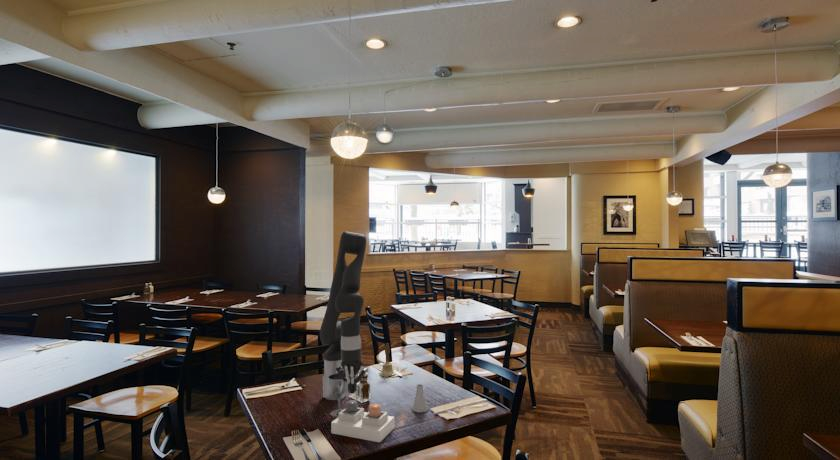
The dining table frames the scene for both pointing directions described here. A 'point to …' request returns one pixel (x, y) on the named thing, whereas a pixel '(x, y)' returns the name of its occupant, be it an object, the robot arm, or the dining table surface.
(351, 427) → the console
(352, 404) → the charcoal button
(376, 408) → the terracotta button
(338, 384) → the wine glass
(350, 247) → the robot arm
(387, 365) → the hand bell
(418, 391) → the flask
